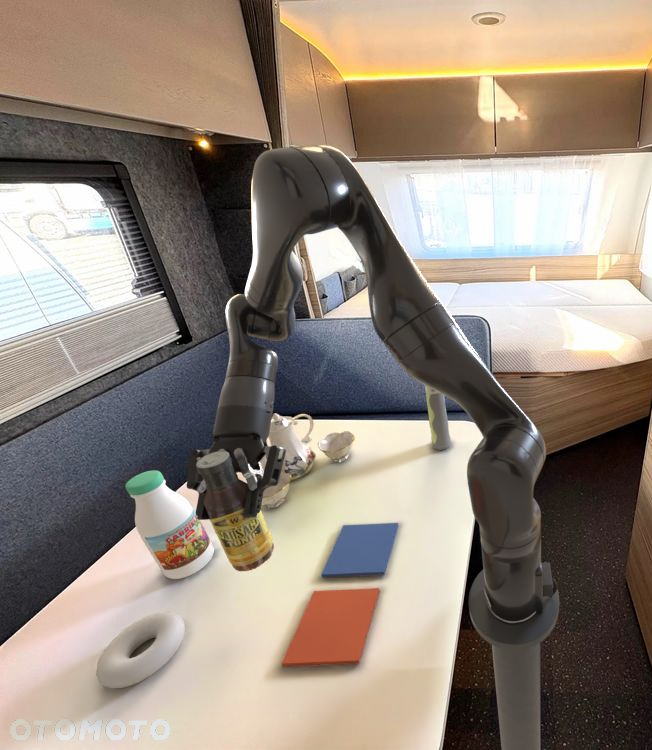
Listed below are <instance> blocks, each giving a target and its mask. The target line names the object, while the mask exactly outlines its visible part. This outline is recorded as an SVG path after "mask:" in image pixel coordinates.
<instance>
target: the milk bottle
mask: <svg viewBox="0 0 652 750" xmlns="http://www.w3.org/2000/svg"><path fill="white" fill-rule="evenodd" d="M166 482H167V481H166V479H165V478H164V476H163V474H162V472H161V471H159V470H148V471H144V472H141V473H139V474H137V475H134V476H133V477H132V478H130V479H129V480H128V481H127V482H126V483H125V489H126V492H127V493H128V494H129V496H130V498H132V499H134V501H135V513H134V524H135V528H136V531H137V533H138V535H139V537H140V539H141V540H142V542H143V544H144V545H145V547H146V548H147V550H148V552H149V553H150V555H151V557H152V558H153V559H154V561H155V564H157V566H158V567H159V569H160V571H161V572H162V574H163V575H164V576H165V577H166V578H168V579H171V580H181V579H185V578H188V577H191V576H192V575H194V574H196V573H198V572H199V571H200V570H202V569H203V568H204V567H205V566H207V564H208V563H210V561H211V560H212V558H213V556H214V553H215V547H214V545H213V542H212V541H211V538H210V537H209V535H208V533H207V531H206V529H205V527H204V526H203V523H202V522H201V520H198V519H197V516H196V510H195V509H194V508H193V506H192V504H191V502H189V501H188V500H187V498H186V497H184V496H183V495H181V494H179V493H178V492H175V491H174V490H172V489H171V488H169V487H168V486H167V485H166Z"/></svg>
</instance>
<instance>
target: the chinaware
mask: <svg viewBox="0 0 652 750" xmlns="http://www.w3.org/2000/svg"><path fill="white" fill-rule="evenodd" d="M303 417H305V418H307V419H308V421H309V428H308V430H307V432H306V434H305V435H304V436H303V437H301V439H300V438H299V436H298V435H297V433H296V430H295V427H294V426H297V425H298V424H299V421H298V420H297V419H299V418H303ZM313 429H314V420H313V418H312V416H310V414H309V415H308V414H306V413H301V414H297V415H295V416H294V417H292V416H287V415H286V416H283V415H280V414H278V413H275V412H274V413H272V419H271V426H270V433H269V437H268V439H269V446H273V445H275V446H280V447H283V448H285V449H286V454H285V458H284V462H283V466H282V470H281V474H280V478H279V482H278V484H277V485H276V486H271V487H269V488H267V489H265V490H264V492H263V498H262V505H261V507H263V506H267V508H268V509H269V508H272V509H273V508H278V507H279V506H280V505H282V504H283V503H284V502H285V498H286V496H287V494H288V493H289V489H290V482H292V481H296V480H299V479H301V478H302V477H305V476H306V475H307V474H308V473H310V472H311V470H313V467H314V461H315V459H316V458H317V454H316V453H315V452H314V451H313V449H312V448H311V446H310V445H309V444H310V443H311V442H312V437H313V436H311V435H310V434H312V432H313ZM355 441H356V437H355V435H354V434H353V433H352V432H351V431H349V430H346V431H342V432H330V433H329V434H327V435H326V436H325V438H324V439H321V440H319V441H318V442H317V447H318V449H319V451H321V452H322V453H323V454H324V455H325V456H326V457H327V458H328V459H331V460H333V462H335V463H342V462H344V461H346V460H348V458H349V454H350V453H351V452H352V449H353V444H354V443H355ZM266 461H267V459H266V456H264V457H263V458H262V459H261V461H260V463H261V466H262V469H263V472H264V469H265V465H266Z"/></svg>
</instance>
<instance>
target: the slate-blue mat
mask: <svg viewBox="0 0 652 750" xmlns="http://www.w3.org/2000/svg"><path fill="white" fill-rule="evenodd" d="M398 528H399V523H398V522H387V523H364V524H344V525H342V526H341V530H340V531H339V534H338V536H337V538H336V541H335V543H334V545H333V547H332V549H331V551H330V554H329V556H328V559H327V561H326V563H325V565H324V567H323V570H322V571H321V574H320V575H321V578H340V577H341V578H343V577H344V578H345V577H346V578H347V577H367V576H368V577H369V576H370V577H371V576H385V574H386V570H387V568H388V563H389V560H390V557H391V553H392V549H393V546H394V543H395V539H396V536H397V532H398Z"/></svg>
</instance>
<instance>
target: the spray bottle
mask: <svg viewBox="0 0 652 750" xmlns="http://www.w3.org/2000/svg"><path fill="white" fill-rule="evenodd" d="M424 390H425V400H426V406H427V413H428V422H429V423H428V424H429V429H430V434H431V437H430V438H431V445H432V447H433V449H435V450H436V451H437V450H438V451H443V450H446V449H448V448H449V447H450V446H451V444H452V440H451V436H450V429H449V428H450V427H449V420H448V415H447V409H446V399H445V397H446V396H445V395H443V394H441V393H439V392H437V391H435V390H433V389H431V388H429V387H427V386H425V385H424Z"/></svg>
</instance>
